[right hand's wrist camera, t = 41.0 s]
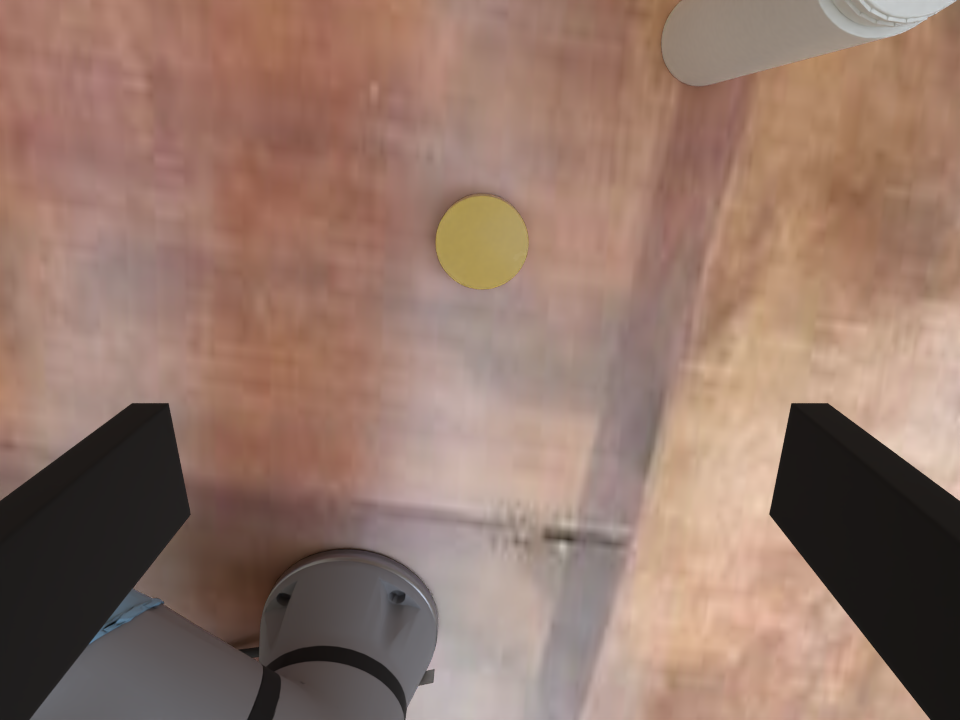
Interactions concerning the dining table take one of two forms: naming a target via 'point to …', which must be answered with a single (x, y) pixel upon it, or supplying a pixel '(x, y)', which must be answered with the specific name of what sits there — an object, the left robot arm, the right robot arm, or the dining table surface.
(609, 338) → the dining table surface
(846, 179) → the dining table surface
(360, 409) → the dining table surface
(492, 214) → the lid
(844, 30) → the jar
